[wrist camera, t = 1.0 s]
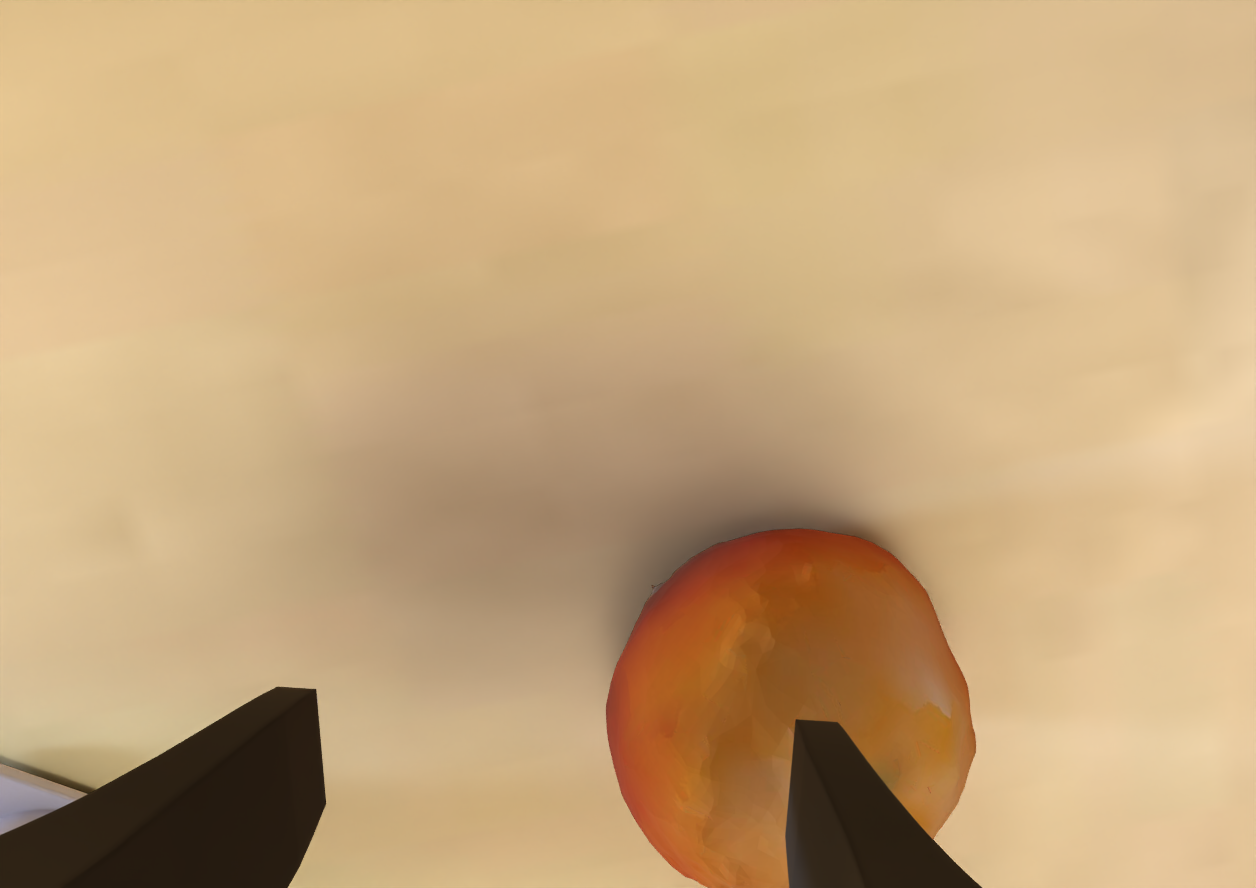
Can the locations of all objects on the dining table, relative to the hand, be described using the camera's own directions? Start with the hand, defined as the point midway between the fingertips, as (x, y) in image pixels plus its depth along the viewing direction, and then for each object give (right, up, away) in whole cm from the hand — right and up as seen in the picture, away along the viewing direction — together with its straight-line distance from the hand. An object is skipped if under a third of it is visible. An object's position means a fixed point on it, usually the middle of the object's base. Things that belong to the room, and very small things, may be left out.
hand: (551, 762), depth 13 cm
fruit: (+5, 0, +10) cm, 11 cm away
